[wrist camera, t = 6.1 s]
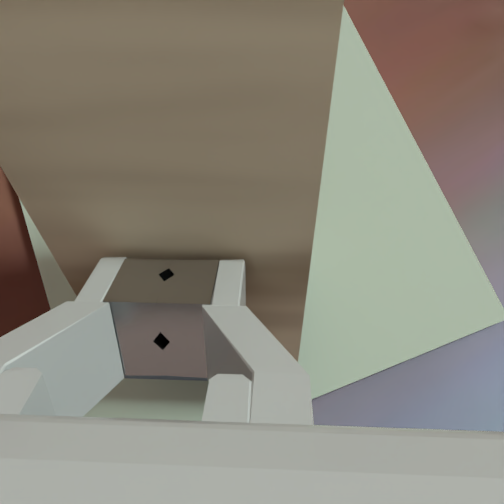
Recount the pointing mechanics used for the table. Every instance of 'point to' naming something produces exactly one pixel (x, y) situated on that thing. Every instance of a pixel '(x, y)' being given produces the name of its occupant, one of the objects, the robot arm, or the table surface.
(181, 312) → the robot arm
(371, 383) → the table surface
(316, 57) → the block
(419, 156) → the mat
